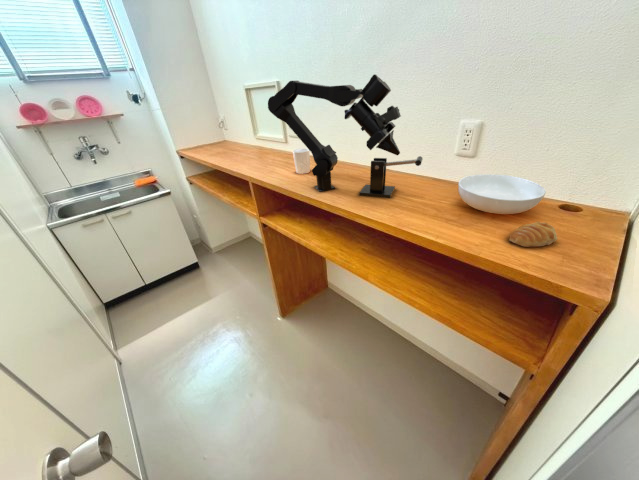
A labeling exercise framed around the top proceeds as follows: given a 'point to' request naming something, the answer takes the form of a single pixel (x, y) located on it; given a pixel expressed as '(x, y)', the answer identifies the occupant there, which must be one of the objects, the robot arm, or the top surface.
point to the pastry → (534, 235)
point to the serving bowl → (500, 193)
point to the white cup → (302, 160)
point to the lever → (405, 162)
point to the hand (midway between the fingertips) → (399, 154)
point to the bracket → (377, 181)
